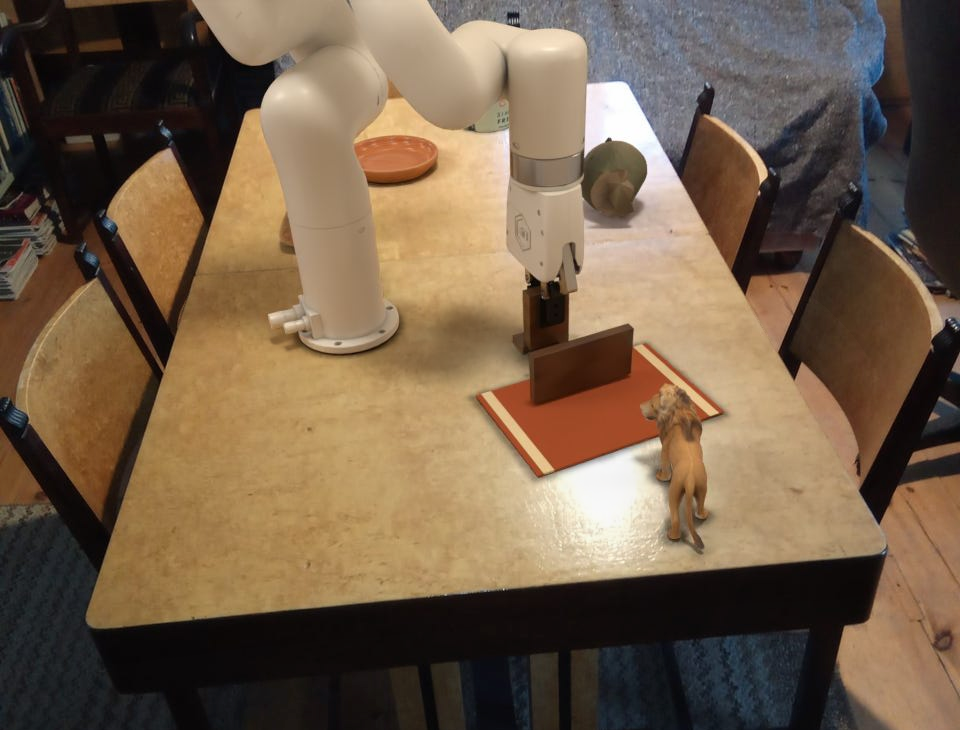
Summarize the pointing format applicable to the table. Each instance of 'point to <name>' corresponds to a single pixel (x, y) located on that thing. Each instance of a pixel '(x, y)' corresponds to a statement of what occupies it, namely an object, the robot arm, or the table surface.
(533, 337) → the rod with end plates
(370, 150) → the saucer
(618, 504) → the table surface
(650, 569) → the table surface
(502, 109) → the food container
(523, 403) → the towel
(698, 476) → the lion figurine
